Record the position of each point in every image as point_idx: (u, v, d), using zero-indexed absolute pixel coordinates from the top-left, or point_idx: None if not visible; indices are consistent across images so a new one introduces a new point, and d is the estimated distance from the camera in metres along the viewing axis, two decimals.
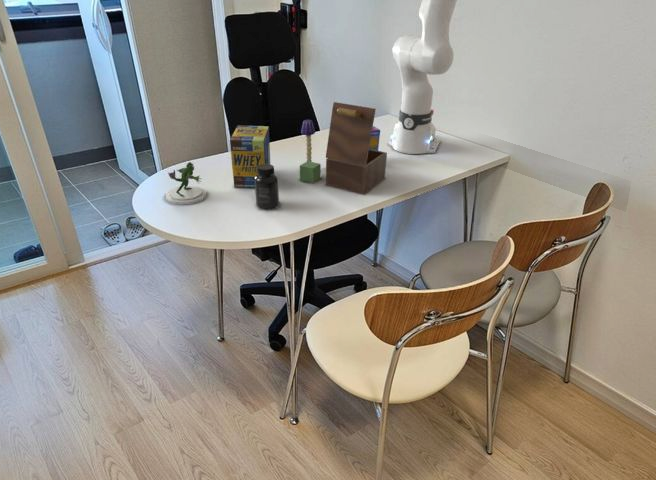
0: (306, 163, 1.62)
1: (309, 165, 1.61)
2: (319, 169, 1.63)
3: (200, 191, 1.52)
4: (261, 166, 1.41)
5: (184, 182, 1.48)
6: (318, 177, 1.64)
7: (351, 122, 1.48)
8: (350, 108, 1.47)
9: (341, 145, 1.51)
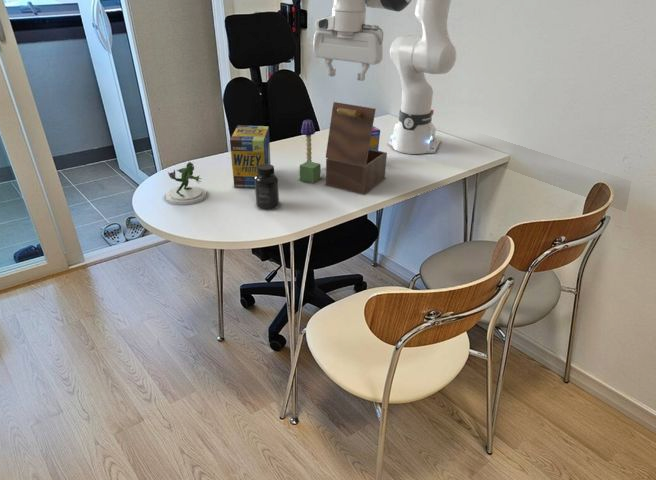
0: (306, 163, 1.62)
1: (309, 165, 1.61)
2: (319, 169, 1.63)
3: (200, 191, 1.52)
4: (261, 166, 1.41)
5: (184, 182, 1.48)
6: (318, 177, 1.64)
7: (351, 122, 1.48)
8: (350, 108, 1.47)
9: (341, 145, 1.51)
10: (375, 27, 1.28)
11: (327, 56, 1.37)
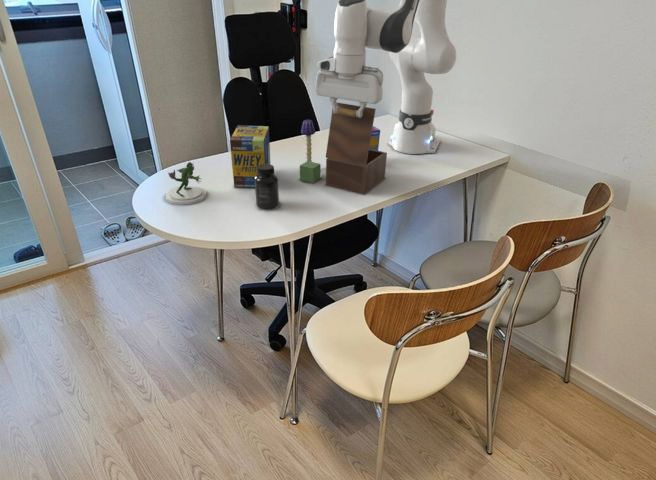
0: (306, 163, 1.62)
1: (309, 165, 1.61)
2: (319, 169, 1.63)
3: (200, 191, 1.52)
4: (261, 166, 1.41)
5: (184, 182, 1.48)
6: (318, 177, 1.64)
7: (351, 122, 1.48)
8: (350, 108, 1.47)
9: (341, 145, 1.51)
10: (375, 69, 1.33)
11: (329, 95, 1.42)
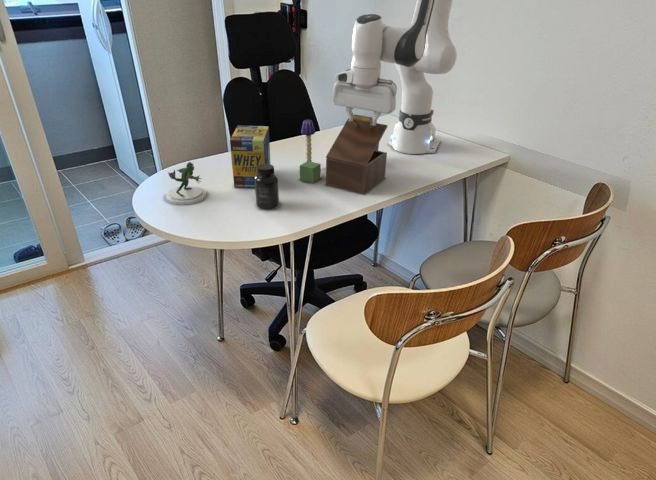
0: (306, 163, 1.62)
1: (309, 165, 1.61)
2: (319, 169, 1.63)
3: (200, 191, 1.52)
4: (261, 166, 1.41)
5: (184, 182, 1.48)
6: (318, 177, 1.64)
7: (360, 132, 1.56)
8: (363, 123, 1.57)
9: (346, 148, 1.54)
10: (389, 81, 1.43)
11: (345, 104, 1.53)
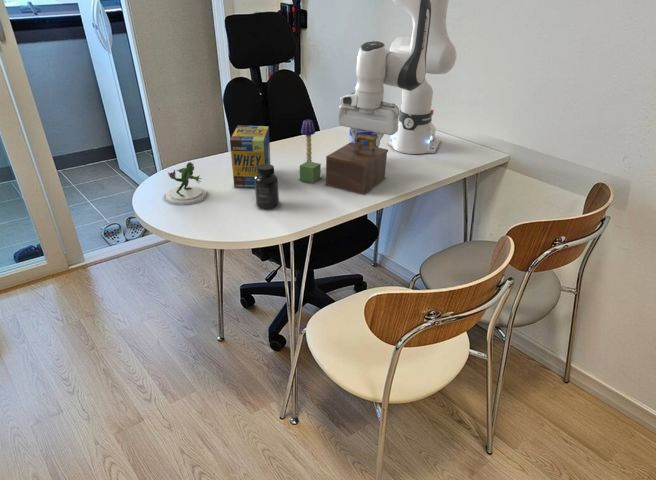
0: (306, 163, 1.62)
1: (309, 165, 1.61)
2: (319, 169, 1.63)
3: (200, 191, 1.52)
4: (261, 166, 1.41)
5: (184, 182, 1.48)
6: (318, 177, 1.64)
7: (362, 149, 1.60)
8: (365, 146, 1.63)
9: (347, 155, 1.56)
10: (392, 105, 1.50)
11: (350, 126, 1.59)
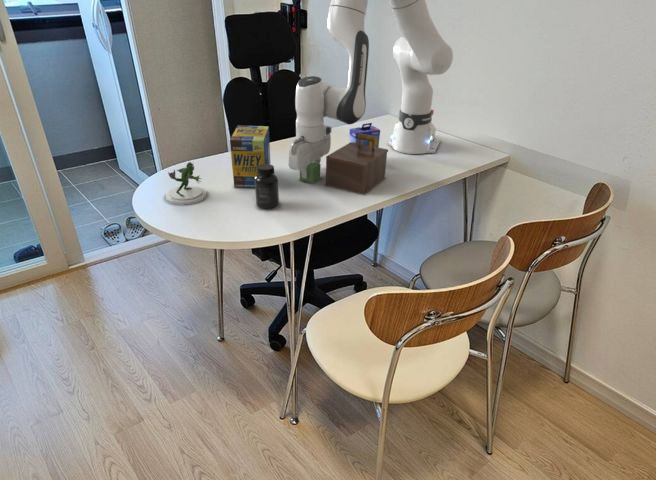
0: None
1: (309, 165, 1.61)
2: (319, 169, 1.63)
3: (200, 191, 1.52)
4: (261, 166, 1.41)
5: (184, 182, 1.48)
6: (318, 177, 1.64)
7: (362, 149, 1.60)
8: (365, 146, 1.63)
9: (347, 155, 1.56)
10: None
11: None
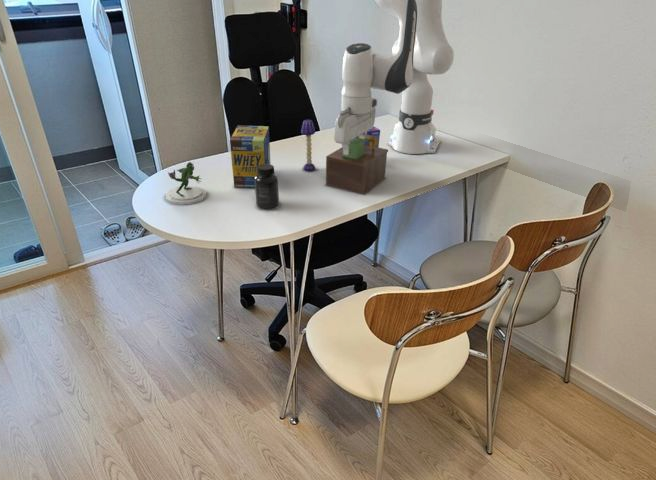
0: None
1: (353, 140, 1.52)
2: (363, 145, 1.54)
3: (200, 191, 1.52)
4: (261, 166, 1.41)
5: (184, 182, 1.48)
6: (362, 153, 1.55)
7: None
8: (365, 146, 1.63)
9: None
10: None
11: None
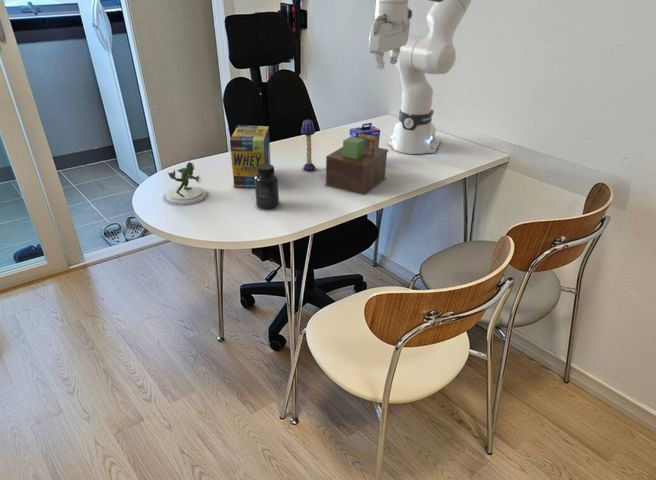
0: (349, 138, 1.54)
1: (353, 140, 1.52)
2: (363, 145, 1.54)
3: (200, 191, 1.52)
4: (261, 166, 1.41)
5: (184, 182, 1.48)
6: (362, 153, 1.55)
7: None
8: (365, 146, 1.63)
9: None
10: None
11: None
